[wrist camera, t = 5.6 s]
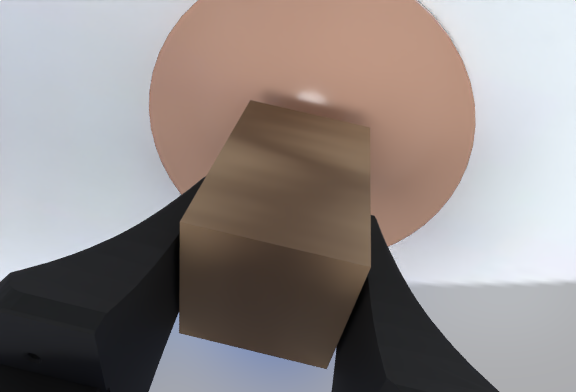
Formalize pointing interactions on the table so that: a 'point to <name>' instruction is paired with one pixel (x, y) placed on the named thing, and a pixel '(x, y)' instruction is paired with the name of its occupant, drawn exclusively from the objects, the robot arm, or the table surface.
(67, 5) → the table surface
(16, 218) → the table surface
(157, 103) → the peach round plate
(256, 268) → the walnut block
